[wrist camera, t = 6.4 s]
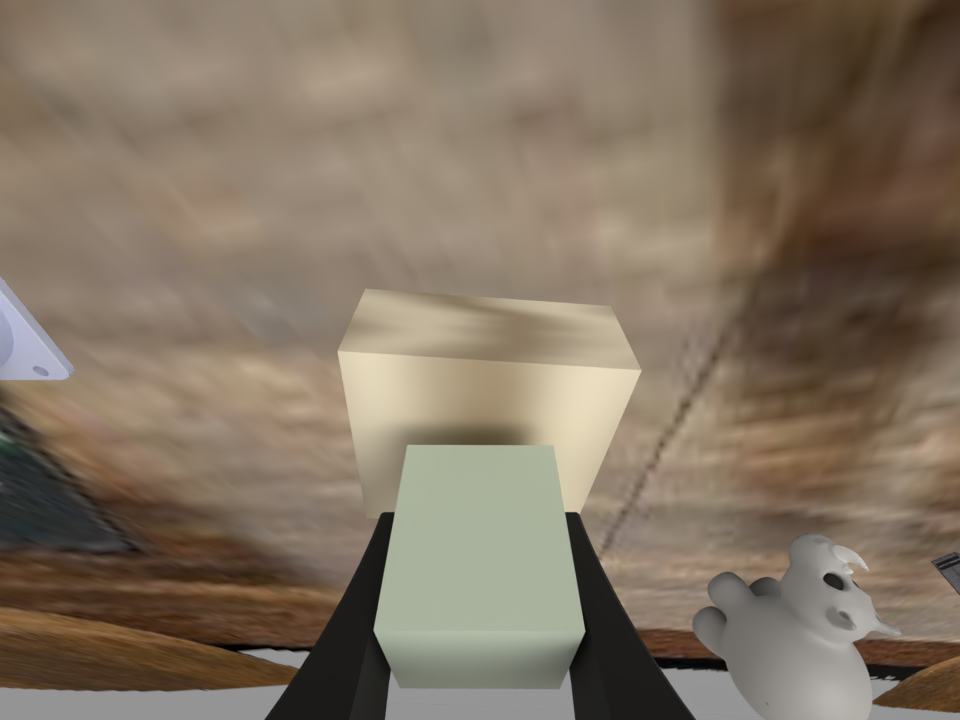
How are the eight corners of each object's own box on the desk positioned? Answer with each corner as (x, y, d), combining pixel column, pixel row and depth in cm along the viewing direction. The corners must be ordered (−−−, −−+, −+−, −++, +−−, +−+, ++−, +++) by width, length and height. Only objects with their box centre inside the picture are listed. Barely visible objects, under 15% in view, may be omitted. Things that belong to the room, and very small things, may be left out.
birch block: (383, 444, 21) (366, 518, 17) (367, 284, 15) (337, 350, 12) (560, 453, 21) (574, 527, 18) (608, 301, 15) (641, 370, 12)
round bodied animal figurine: (828, 506, 28) (988, 616, 20) (753, 637, 31) (866, 778, 23) (741, 490, 27) (876, 602, 19) (671, 629, 30) (762, 775, 22)
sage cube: (420, 522, 15) (399, 688, 12) (407, 444, 13) (373, 630, 9) (540, 522, 15) (559, 689, 11) (553, 445, 13) (585, 631, 9)
